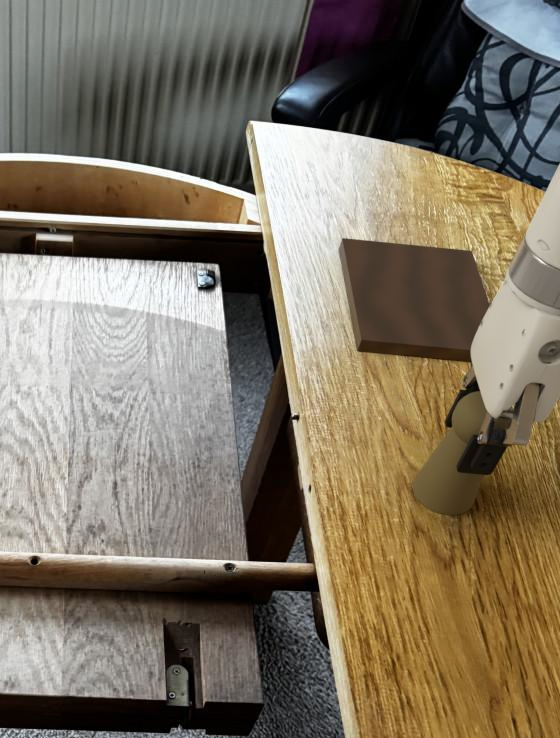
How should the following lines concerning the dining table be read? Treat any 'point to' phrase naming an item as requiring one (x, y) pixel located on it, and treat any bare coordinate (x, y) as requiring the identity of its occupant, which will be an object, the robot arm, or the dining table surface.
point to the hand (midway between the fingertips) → (467, 447)
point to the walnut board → (413, 298)
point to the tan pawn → (454, 462)
